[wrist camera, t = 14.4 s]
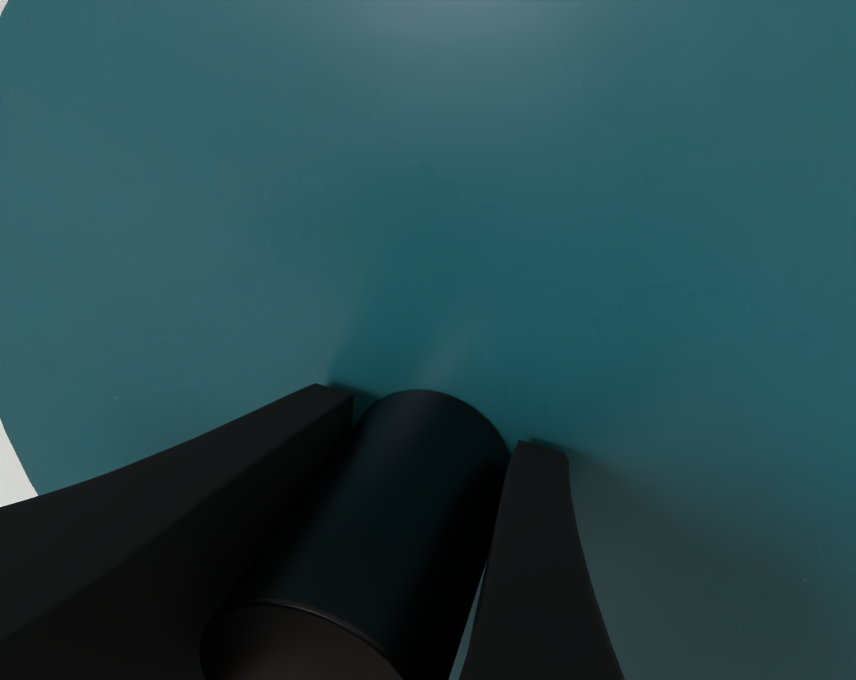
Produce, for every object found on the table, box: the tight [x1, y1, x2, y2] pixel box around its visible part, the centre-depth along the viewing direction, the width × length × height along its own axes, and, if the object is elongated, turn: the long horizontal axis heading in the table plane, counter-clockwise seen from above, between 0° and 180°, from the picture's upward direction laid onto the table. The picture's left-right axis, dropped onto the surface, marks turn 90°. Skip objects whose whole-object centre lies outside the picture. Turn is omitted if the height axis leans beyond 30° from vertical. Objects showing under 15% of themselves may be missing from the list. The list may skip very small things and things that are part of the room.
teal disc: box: [0, 0, 856, 680], centre depth 9 cm, size 17×17×5 cm
